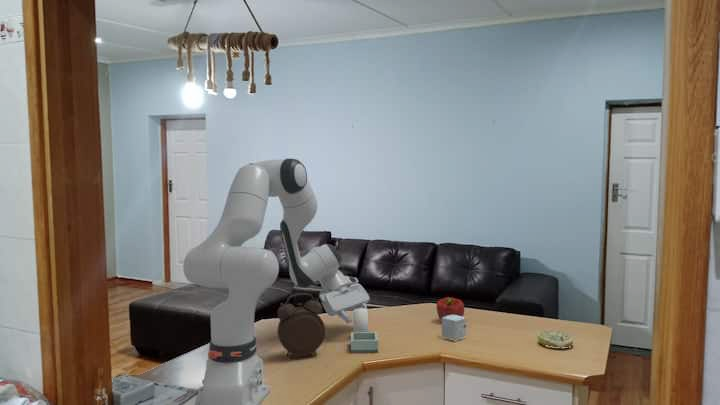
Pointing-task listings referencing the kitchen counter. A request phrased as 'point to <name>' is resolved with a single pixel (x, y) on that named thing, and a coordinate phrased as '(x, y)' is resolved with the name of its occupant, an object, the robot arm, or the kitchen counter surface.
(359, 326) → the cylinder
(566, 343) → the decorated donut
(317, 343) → the alarm clock
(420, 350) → the kitchen counter surface
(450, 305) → the vegetable
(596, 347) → the kitchen counter surface
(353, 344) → the teal open box
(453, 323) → the skincare box
